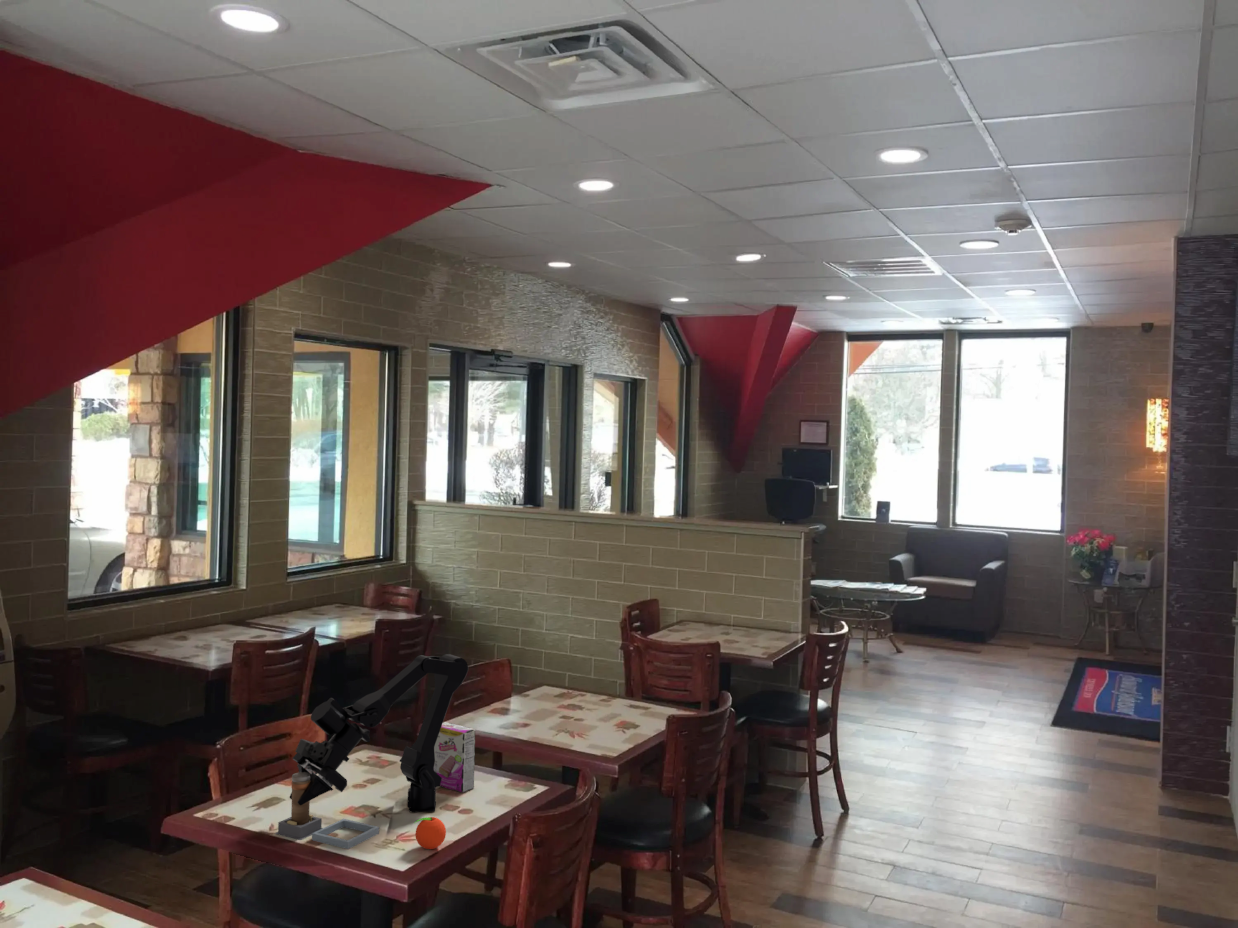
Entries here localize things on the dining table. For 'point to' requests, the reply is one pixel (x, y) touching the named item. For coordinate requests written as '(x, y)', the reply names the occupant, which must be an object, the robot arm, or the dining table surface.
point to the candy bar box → (455, 757)
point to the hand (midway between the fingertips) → (294, 801)
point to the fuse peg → (298, 787)
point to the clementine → (430, 832)
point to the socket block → (299, 828)
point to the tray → (324, 838)
